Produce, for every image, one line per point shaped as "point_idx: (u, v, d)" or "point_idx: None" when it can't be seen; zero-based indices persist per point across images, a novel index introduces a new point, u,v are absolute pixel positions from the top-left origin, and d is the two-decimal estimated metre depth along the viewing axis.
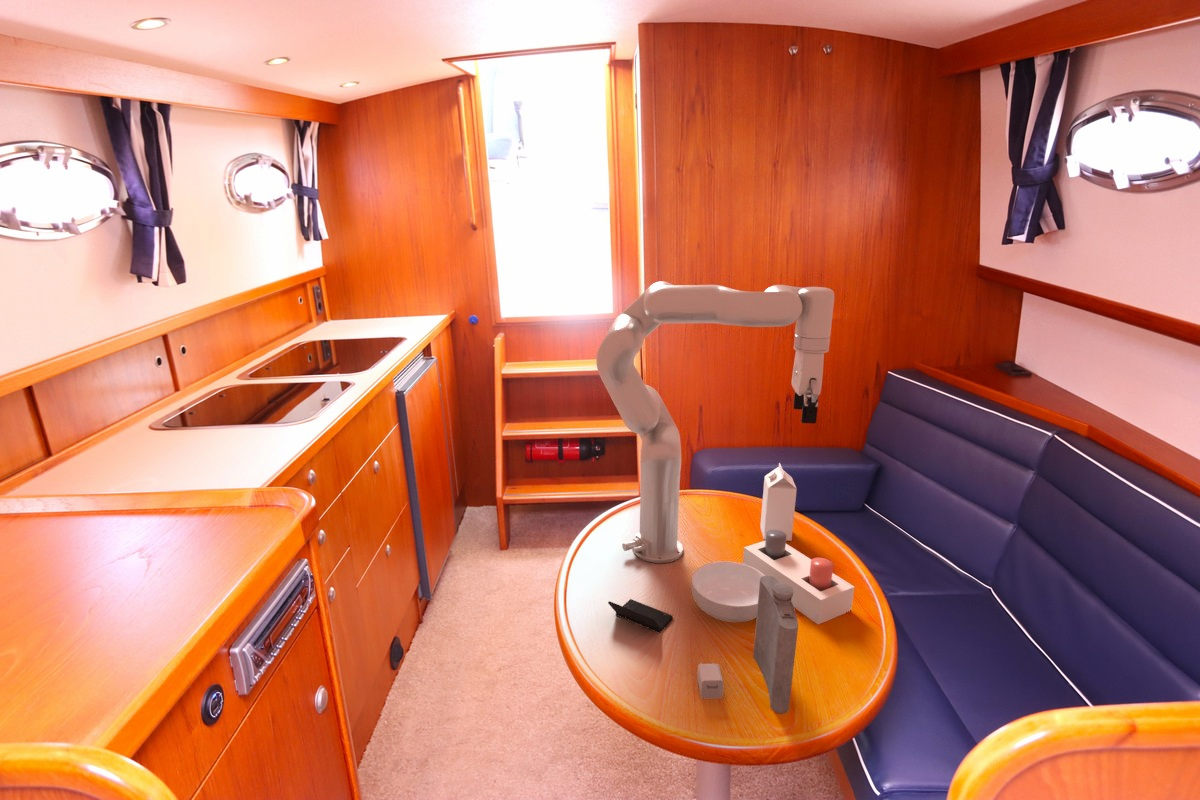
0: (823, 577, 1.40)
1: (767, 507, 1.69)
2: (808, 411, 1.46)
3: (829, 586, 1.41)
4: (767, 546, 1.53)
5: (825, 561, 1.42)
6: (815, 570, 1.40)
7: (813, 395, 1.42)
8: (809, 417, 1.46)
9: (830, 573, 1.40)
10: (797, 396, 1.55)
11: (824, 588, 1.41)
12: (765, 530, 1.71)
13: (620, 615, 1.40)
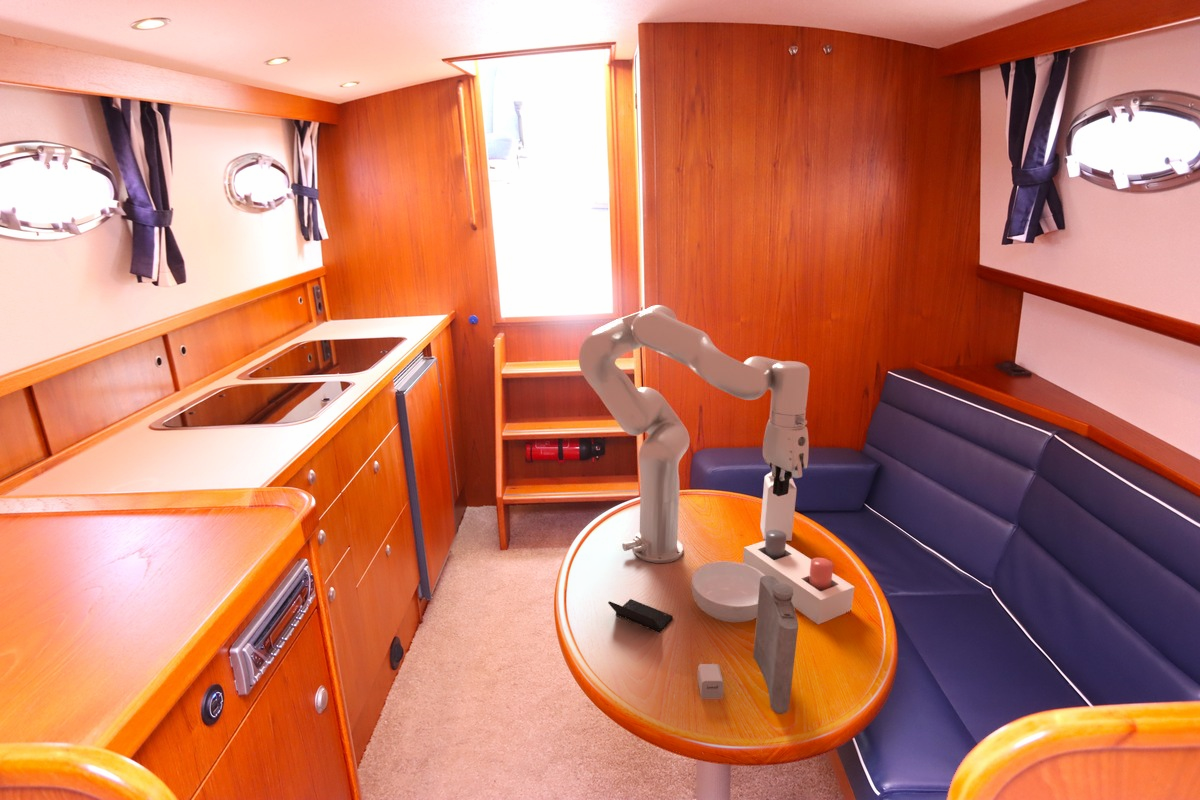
0: (823, 577, 1.40)
1: (767, 507, 1.69)
2: None
3: (829, 586, 1.41)
4: (767, 546, 1.53)
5: (825, 561, 1.42)
6: (815, 570, 1.40)
7: None
8: None
9: (830, 573, 1.40)
10: None
11: (824, 588, 1.41)
12: (765, 530, 1.71)
13: (620, 615, 1.40)
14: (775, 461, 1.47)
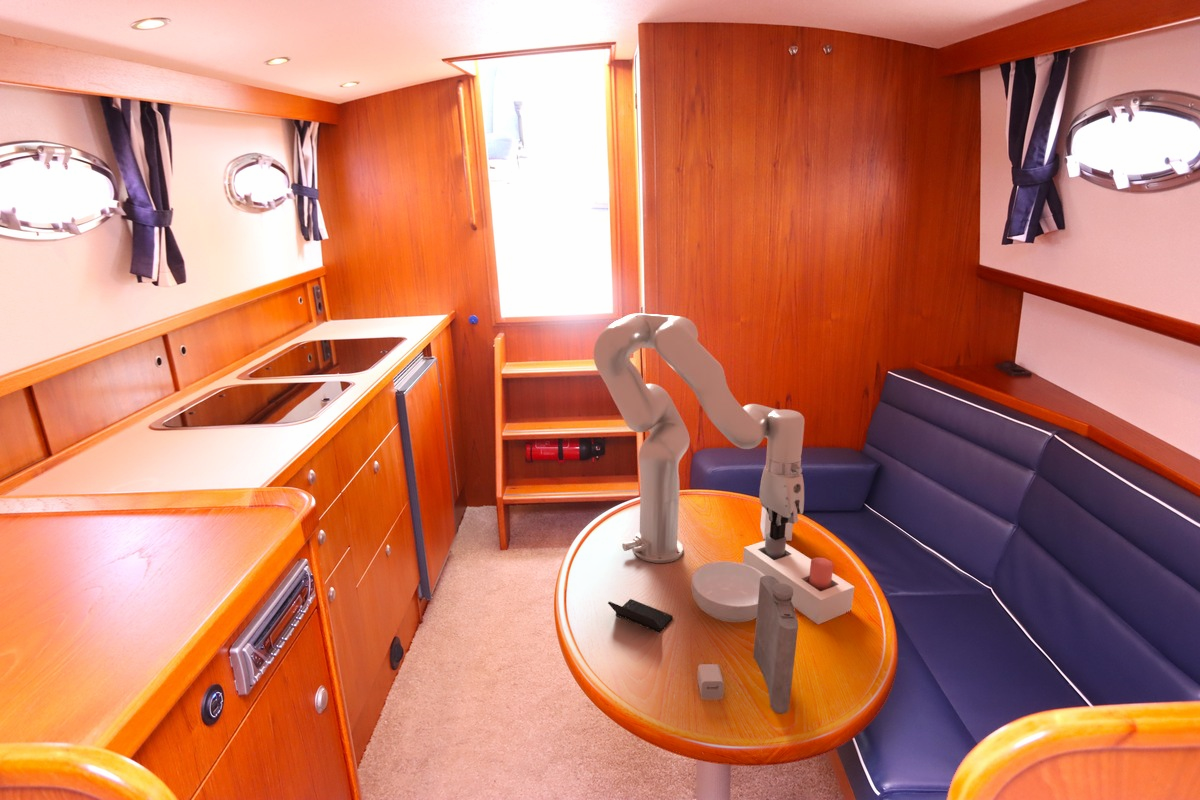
0: (823, 577, 1.40)
1: None
2: None
3: (829, 586, 1.41)
4: (767, 549, 1.53)
5: (825, 561, 1.42)
6: (815, 570, 1.40)
7: None
8: None
9: (830, 573, 1.40)
10: None
11: (824, 588, 1.41)
12: (765, 530, 1.71)
13: (620, 615, 1.40)
14: (771, 506, 1.50)
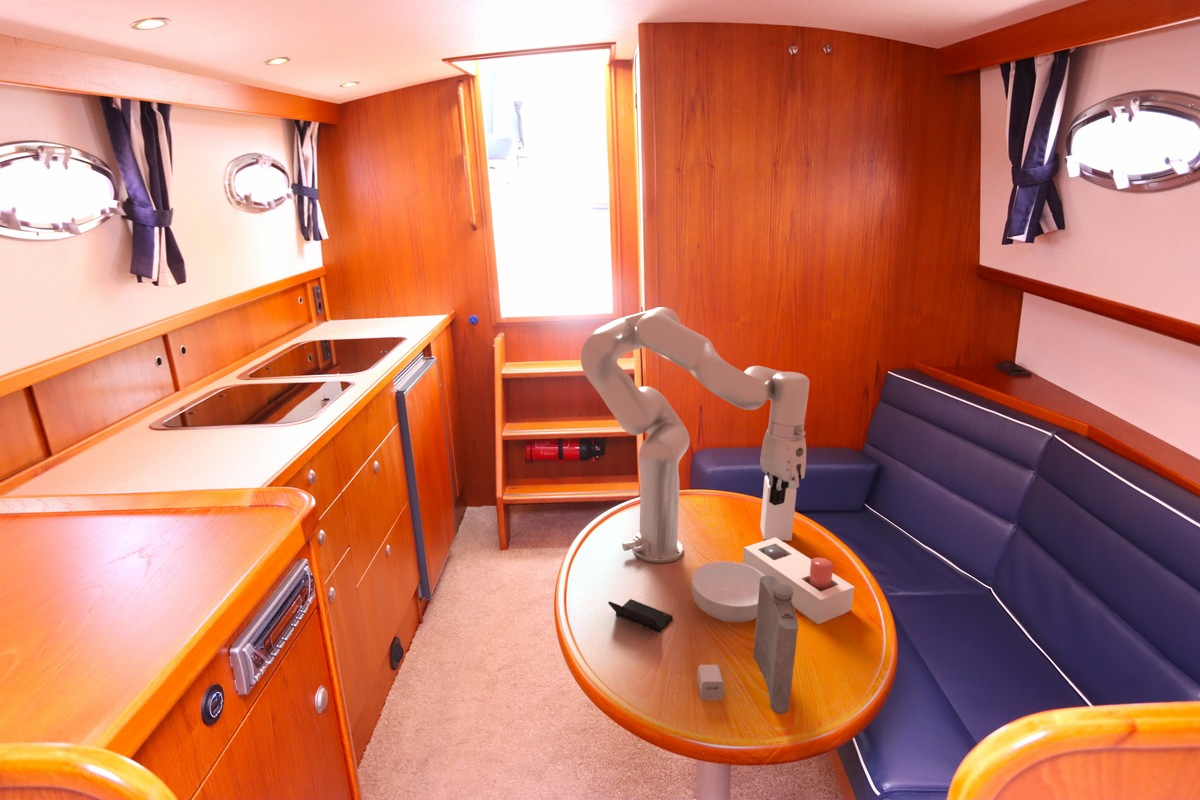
0: (823, 577, 1.40)
1: (767, 507, 1.69)
2: None
3: (829, 586, 1.41)
4: None
5: (825, 561, 1.42)
6: (815, 570, 1.40)
7: None
8: None
9: (830, 573, 1.40)
10: None
11: (824, 588, 1.41)
12: (765, 530, 1.71)
13: (620, 615, 1.40)
14: (772, 470, 1.47)
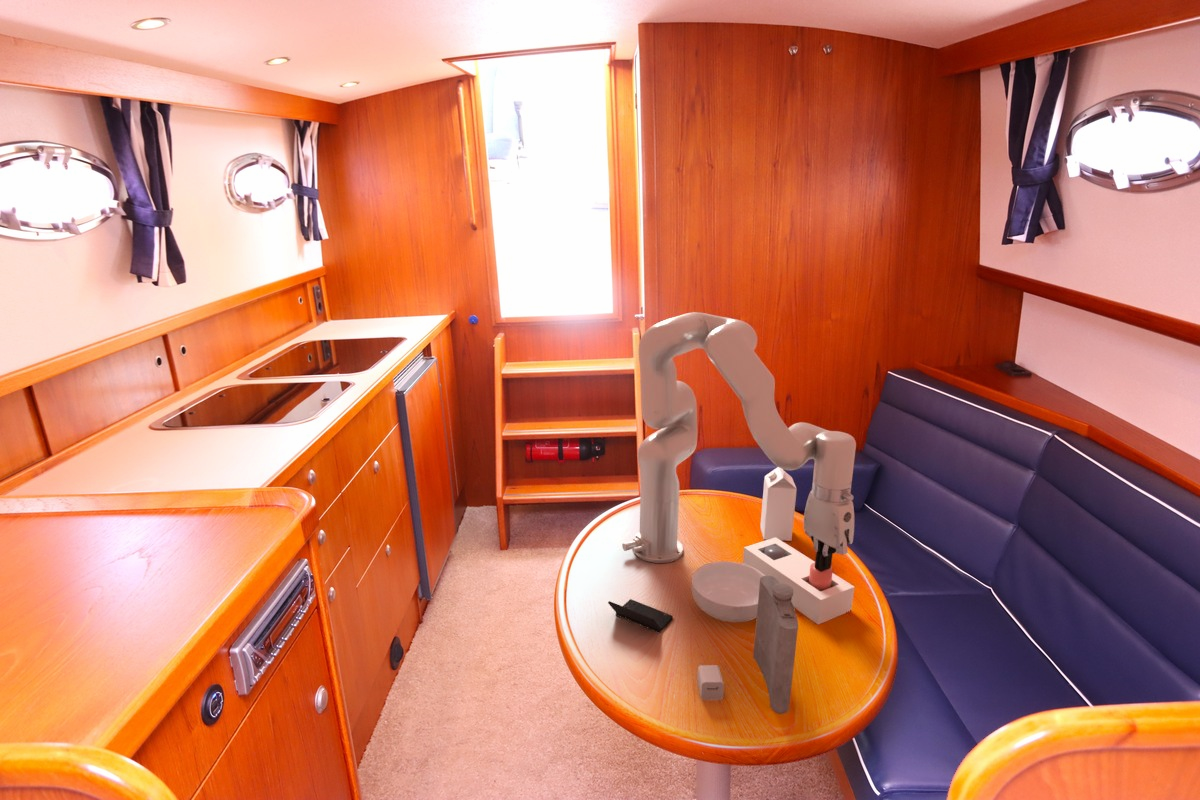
0: (822, 582, 1.40)
1: (767, 507, 1.69)
2: None
3: None
4: None
5: None
6: (815, 575, 1.41)
7: None
8: None
9: (829, 578, 1.40)
10: None
11: None
12: (765, 530, 1.71)
13: (620, 615, 1.40)
14: (818, 535, 1.38)
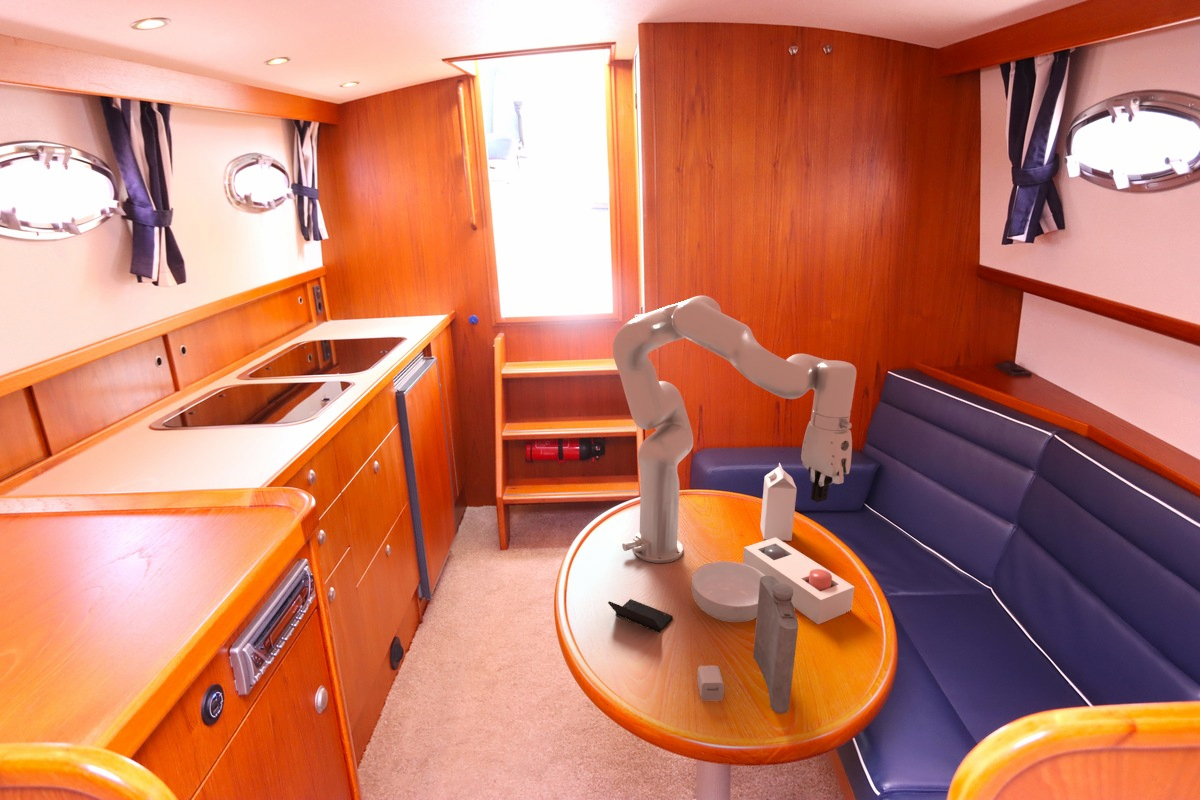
0: (821, 589, 1.41)
1: (767, 507, 1.69)
2: None
3: None
4: None
5: (824, 573, 1.43)
6: (814, 582, 1.41)
7: None
8: None
9: (829, 585, 1.41)
10: None
11: None
12: (765, 530, 1.71)
13: (620, 615, 1.40)
14: (815, 465, 1.39)
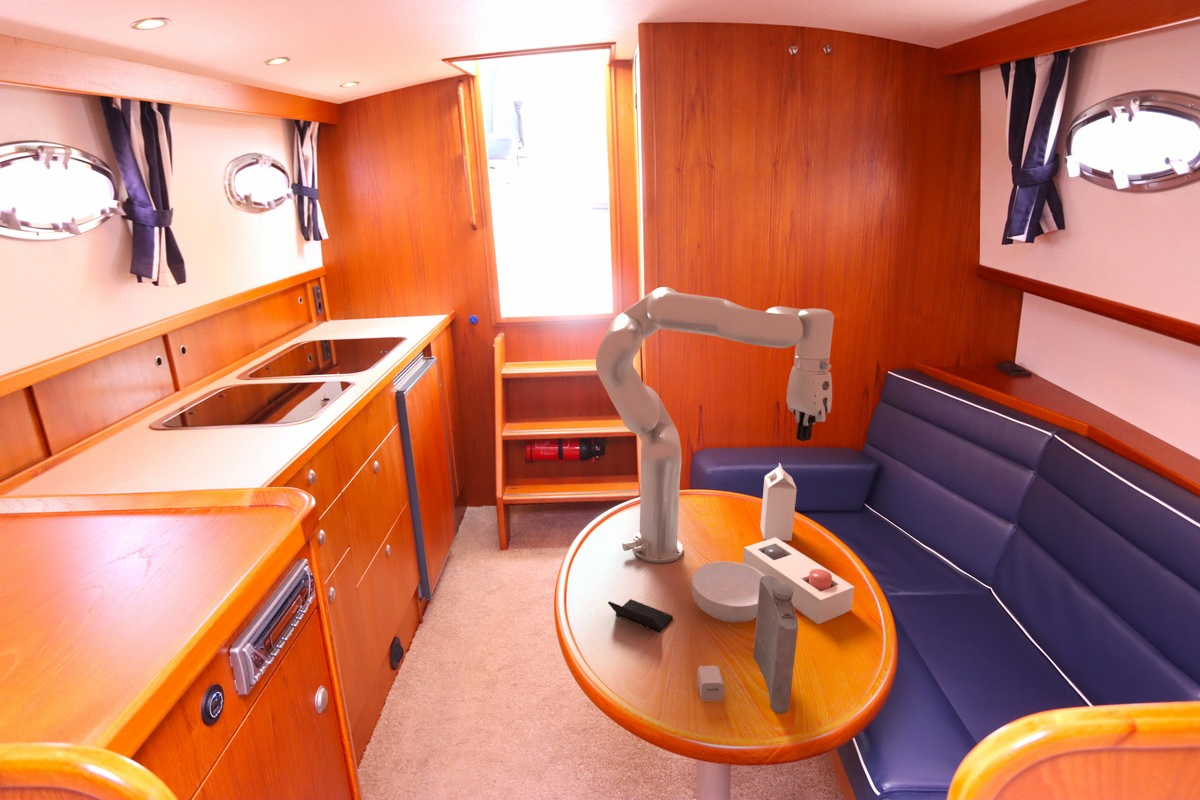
0: (821, 589, 1.41)
1: (767, 507, 1.69)
2: None
3: None
4: None
5: (824, 573, 1.43)
6: (814, 582, 1.41)
7: None
8: None
9: (829, 585, 1.41)
10: None
11: None
12: (765, 530, 1.71)
13: (620, 615, 1.40)
14: (799, 406, 1.51)
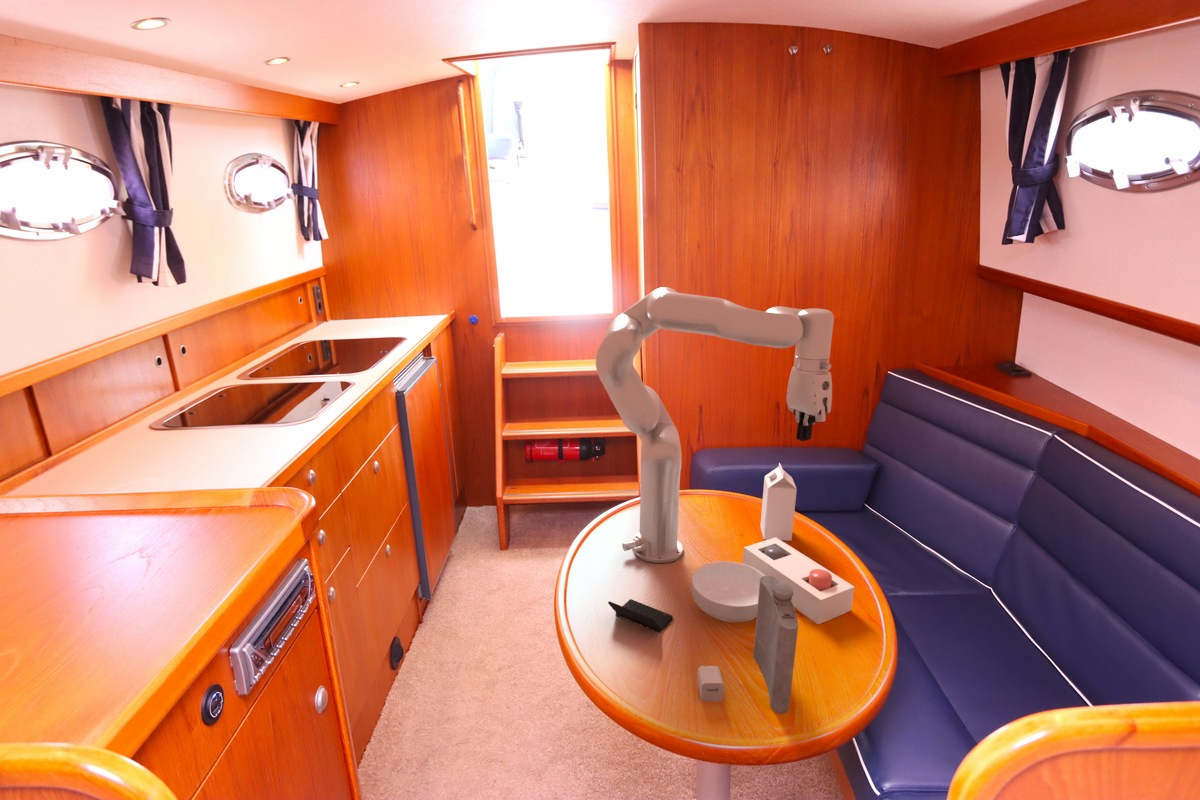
0: (821, 589, 1.41)
1: (767, 507, 1.69)
2: None
3: None
4: None
5: (824, 573, 1.43)
6: (814, 582, 1.41)
7: None
8: None
9: (829, 585, 1.41)
10: None
11: None
12: (765, 530, 1.71)
13: (620, 615, 1.40)
14: (799, 406, 1.51)
